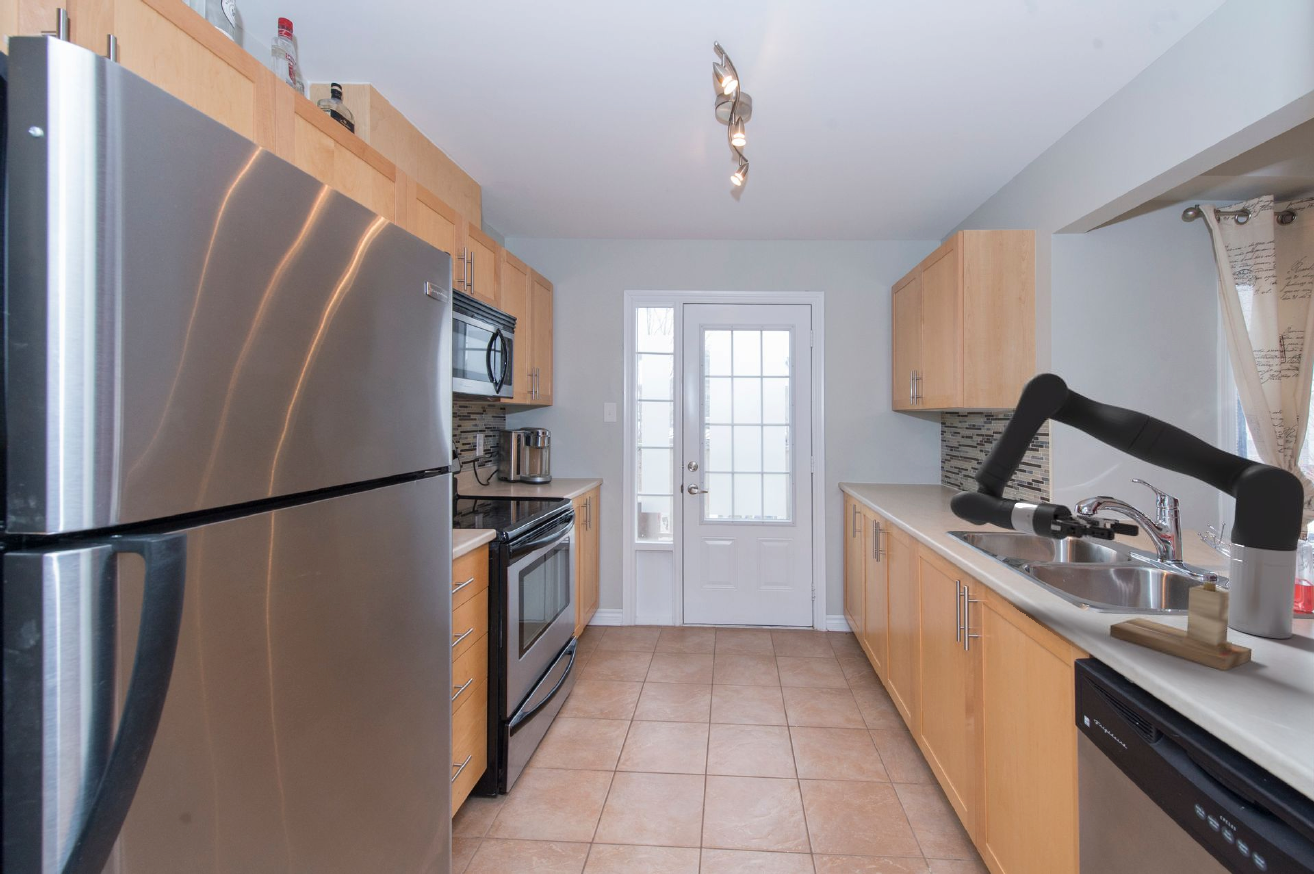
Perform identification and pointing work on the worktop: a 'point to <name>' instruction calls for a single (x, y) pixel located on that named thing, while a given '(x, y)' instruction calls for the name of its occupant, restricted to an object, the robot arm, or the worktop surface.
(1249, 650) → the plank
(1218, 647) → the pale wood tall block
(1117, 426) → the robot arm
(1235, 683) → the worktop surface
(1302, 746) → the worktop surface
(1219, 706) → the worktop surface
